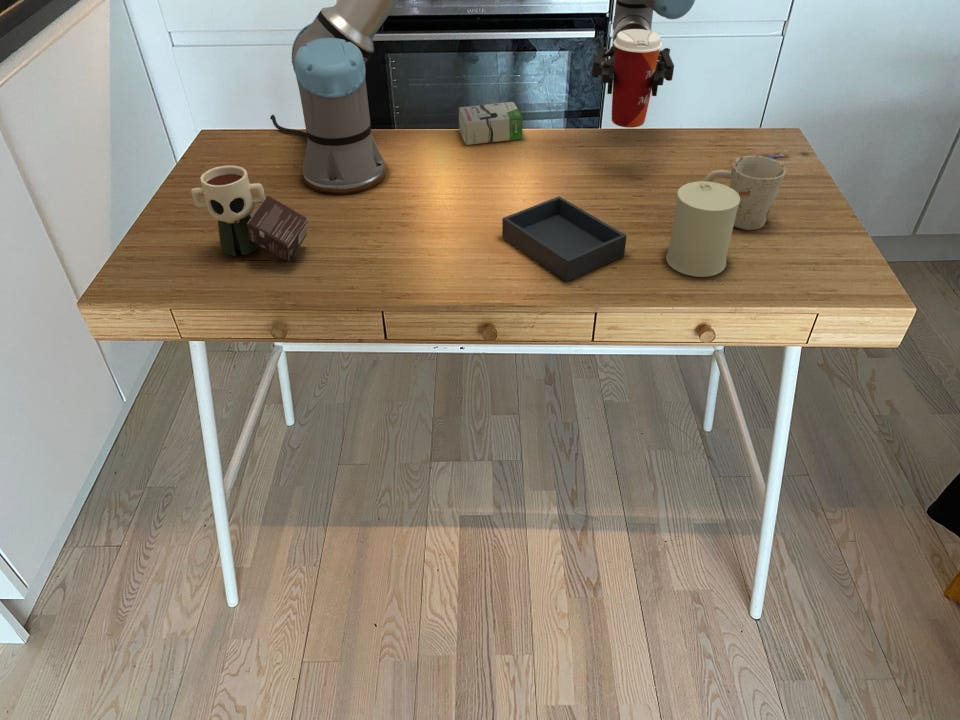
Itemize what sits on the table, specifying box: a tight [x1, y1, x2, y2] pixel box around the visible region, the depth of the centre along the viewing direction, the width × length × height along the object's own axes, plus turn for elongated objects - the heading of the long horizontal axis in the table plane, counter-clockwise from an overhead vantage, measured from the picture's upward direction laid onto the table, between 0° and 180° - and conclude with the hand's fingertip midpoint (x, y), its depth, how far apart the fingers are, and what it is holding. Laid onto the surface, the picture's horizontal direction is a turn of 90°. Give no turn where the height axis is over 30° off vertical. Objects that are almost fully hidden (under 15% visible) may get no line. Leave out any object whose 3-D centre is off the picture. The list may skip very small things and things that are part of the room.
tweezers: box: [767, 153, 786, 159], centre depth 149 cm, size 2×12×1 cm, turn 103°
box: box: [247, 195, 309, 262], centre depth 121 cm, size 6×6×7 cm
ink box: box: [458, 101, 524, 146], centre depth 158 cm, size 9×5×12 cm
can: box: [665, 180, 740, 278], centre depth 118 cm, size 9×9×12 cm
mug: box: [702, 155, 787, 231], centre depth 128 cm, size 8×13×10 cm, turn 70°
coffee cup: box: [611, 29, 663, 129], centre depth 135 cm, size 8×8×15 cm
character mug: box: [190, 164, 266, 257], centre depth 122 cm, size 11×7×13 cm, turn 98°
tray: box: [501, 195, 627, 283], centre depth 124 cm, size 16×12×4 cm
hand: (632, 87), depth 131 cm, fingers closed on coffee cup, 7 cm apart
